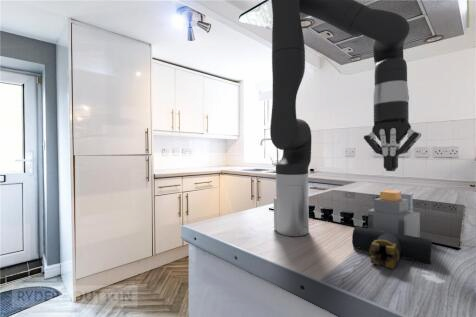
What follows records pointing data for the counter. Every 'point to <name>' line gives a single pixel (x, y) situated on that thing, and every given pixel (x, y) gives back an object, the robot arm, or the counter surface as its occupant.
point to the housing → (394, 218)
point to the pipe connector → (391, 246)
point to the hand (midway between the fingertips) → (390, 170)
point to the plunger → (390, 195)
